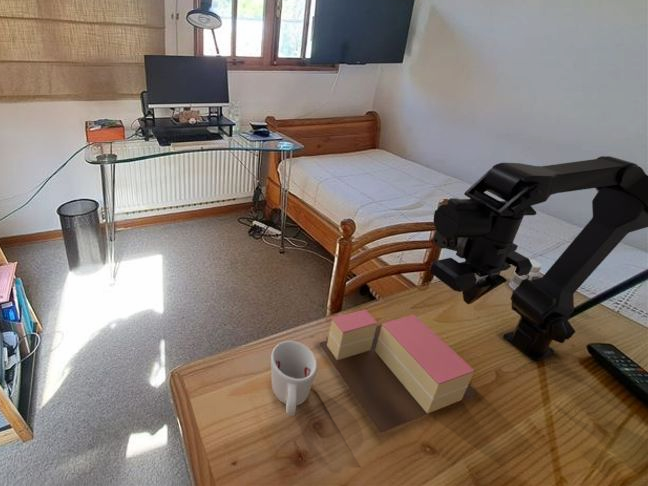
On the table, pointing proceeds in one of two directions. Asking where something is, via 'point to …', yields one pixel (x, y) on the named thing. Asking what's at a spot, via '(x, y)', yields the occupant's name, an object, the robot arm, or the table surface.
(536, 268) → the pill bottle
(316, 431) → the table surface
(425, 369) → the cake
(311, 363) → the cup
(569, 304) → the robot arm
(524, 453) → the table surface
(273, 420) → the table surface
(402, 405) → the serving board
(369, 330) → the cake slice
